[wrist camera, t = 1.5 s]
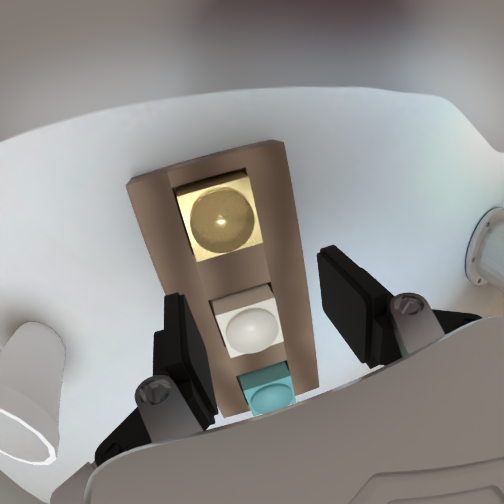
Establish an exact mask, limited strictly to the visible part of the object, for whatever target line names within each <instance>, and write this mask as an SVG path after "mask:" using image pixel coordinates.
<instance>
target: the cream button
mask: <svg viewBox="0 0 504 504" xmlns="http://www.w3.org/2000/svg"><path fill="white" fill-rule="evenodd" d="M212 303H213V308H214V312H215V316H216V319H217V322H218V325H219V328H220V330H221V333H222V336H223V339H224V341H225V344H226V347H227V350H228V352H229V355H230V358H233V357H236V356H240V355H243V354H251V353H257V352H260V351H262V350H264V349H266V348H268V347H269V346H271V345H274V344H278V343H280V342H283V341H284V339H283V335H282V330H281V325H280V320H279V315H278V310H277V306H276V301H275V297H274V295H273V293H272V292H271V290H270V288H269V286H268V284H267V283H265V284H261V285H258V286H255V287H252V288H248V289H245V290H242V291H239V292H235V293H232V294H229V295H225V296H222V297H219V298H215V299H212Z"/></svg>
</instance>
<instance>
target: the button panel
mask: <svg viewBox="0 0 504 504" xmlns="http://www.w3.org/2000/svg"><path fill="white" fill-rule="evenodd" d="M238 170H241V171H242V172H243V173H245V174H246V175H247V176H248V177H249V180H250V184H251V189H252V193H253V198H254V203H255V207H256V212H257V216H258V221H259V226H260V230H261V235H262V239H263V243H260V244H256V245H253V246H250V247H246V248H243V249H239V250H236V251H233V252H229V253H226V254H223V255H219V256H216V257H212V258H209V259H206V260H202V261H199V262H197V260H196V257H195V254H194V251H193V248H192V245H191V242H190V239H189V235H188V232H187V229H186V226H185V223H184V219H183V216H182V213H181V210H180V206H179V203H178V199H177V187H181V186H184V185H188V184H191V183H194V182H198V181H201V180H205V179H209V178H212V177H216V176H219V175H223V174H227V173H231V172H234V171H238ZM126 188H127V191H128V194H129V198H130V201H131V204H132V207H133V209H134V212H135V215H136V218H137V221H138V224H139V227H140V230H141V232H142V235H143V238H144V241H145V243H146V246H147V249H148V251H149V254H150V257H151V259H152V262H153V265H154V267H155V270H156V272H157V275H158V277H159V280H160V282H161V285H162V287H163V290H164V292H165V294H166V295H169V294H173V293H176V292H178V293H179V295H182V294H184V295H185V297H186V300H187V302H188V305H189V307H190V310H191V312H192V315H193V317H194V320H195V322H196V325H197V327H198V330H199V332H200V334H201V337H202V339H203V342H204V344H205V347H206V351H207V356H208V362H209V367H210V372H211V378H212V383H213V388H214V393H215V398H216V403H217V406H218V408H219V409H220V411H221V413H222V415H223V417H224V418H226V417H230V416H233V415H237V414H240V413H244V412H247V411H251V409H250V407H249V404H248V402H247V399H246V397H245V394H244V391H243V388H242V385H241V381H240V378H239V375H242V374H245V373H248V372H252V371H255V370H258V369H261V368H264V367H267V366H270V365H273V364H276V363H279V362H282V361H284V362H285V364H286V366H287V368H288V371H289V373H290V375H291V379H292V384H293V389H294V394H295V396H297V395H299V394H302V393H305V392H308V391H310V390H313V389H316V388H318V387H319V379H318V369H317V360H316V350H315V342H314V333H313V325H312V317H311V309H310V301H309V293H308V286H307V279H306V272H305V265H304V258H303V251H302V245H301V238H300V232H299V226H298V219H297V213H296V207H295V201H294V196H293V190H292V184H291V178H290V173H289V167H288V162H287V157H286V151H285V146H284V142H280V141H276V140H268V141H264V142H259V143H255V144H250V145H246V146H242V147H238V148H234V149H230V150H226V151H222V152H218V153H214V154H210V155H207V156H203V157H199V158H196V159H192V160H189V161H185V162H182V163H178V164H175V165H172V166H168V167H165V168H162V169H159V170H156V171H152V172H149V173H146V174H143V175H140V176H137V177H134V178H131V180H130V181H129V182H128V183H127V185H126ZM265 283H267V284H268V286H269V288H270V290H271V292H272V293H273V295H274V297H275V301H276V306H277V310H278V315H279V320H280V325H281V330H282V335H283V339H284V341H283V342H280V343H278V344H274V345H271V346H269V347H268V348H266V349H264V350H262V351H260V352H257V353H251V354H243V355H240V356H236V357H233V358H230V355H229V352H228V350H227V347H226V344H225V341H224V339H223V336H222V333H221V330H220V328H219V325H218V322H217V319H216V316H215V312H214V308H213V303H212V299H215V298H219V297H222V296H225V295H229V294H232V293H235V292H239V291H242V290H245V289H248V288H252V287H255V286H258V285H261V284H265Z"/></svg>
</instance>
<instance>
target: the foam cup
mask: <svg viewBox="0 0 504 504" xmlns="http://www.w3.org/2000/svg"><path fill="white" fill-rule="evenodd" d="M64 362H65V346H64V344H63V342H62V340H61V338H60V337H59V336H58V335H57V334H56V333H55V332H54V331H53V330H52V329H51V328H49V327H47V326H45V325H43V324H41V323H37V322H30V321H29V322H27V323H24V324H22V325H21V326H20V327H19V328H18V329H17V330H16V331H15V333H14V334H13V335H12V336H11V338H10V339H9V340H8V341H7V343H6V344H5V345H4V346H3V348H2V349H1V350H0V452H1V453H3V454H5V455H7V456H9V457H11V458H13V459H15V460H18V461H22V462H25V463H29V464H33V465H49V464H51V463H52V462H53V461H54V460H56V458H57V452H58V446H59V440H60V436H59V429H58V423H59V408H60V396H61V386H62V377H63V369H64Z"/></svg>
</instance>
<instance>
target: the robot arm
mask: <svg viewBox="0 0 504 504" xmlns="http://www.w3.org/2000/svg"><path fill="white" fill-rule="evenodd" d="M317 262H318V270H319V279H320V288H321V297H322V306H323V310H324V312H325V314H326V315H327V316H328V318H329V319H330V321H331V322H332V323H333V325H334V326H335V327H336V329H337V330H338V331H339V333H340V334H341V336H342V337H343V338H344V340H345V341H346V342H347V344H348V345H349V347H350V348H351V349H352V351H353V352H354V353H355V355H356V356H357V358H358V359H359V360H360V362H361V363H366V364H367V365H368V366H369V368H370V369H372V368H374V367H376V366H378V365H384V367H382V368H380V369H378V370H376V371H374V372H372V373H369V374H367V375H365V376H363V377H360V378H358V379H356V380H354V381H351V382H349V383H347V384H344V385H342V386H339V387H337V388H335V389H332V390H330V391H327V392H325V393H322V394H319V395H317V396H314V397H312V398H309V399H306V400H304V401H301V402H298V403H295V404H292V405H290V406H287V407H284V408H281V409H278V410H275V411H272V412H269V413H266V414H262V415H259V416H256V417H253V418H249V419H246V420H242V421H239V422H235V423H232V424H228V425H224V426H221V427H217V428H213V429H209V430H206V429H207V428H208V427H209V426H210V425H212V424H215V419H214V415H217V414H218V408H217V403H216V398H215V393H214V388H213V383H212V378H211V372H210V367H209V362H208V356H207V351H206V347H205V344H204V342H203V339H202V337H201V334H200V332H199V330H198V327H197V325H196V322H195V320H194V317H193V315H192V312H191V310H190V307H189V305H188V302H187V300H186V297H185V295H184V294H182V295H179V293H178V292H176V293H173V294H169V295H166V296H165V297H164V330H161V331H157V332H155V333H154V348H153V376H152V377H150V378H147V379H146V380H144V381H143V382H142V383H141V384H140V385H139V386H138V388H137V389H136V392H135V401H136V404H137V406H138V407H137V408H136V409H135V410H134V411H133V412H132V413H131V414H130V415H129V416H128V417H127V418H126V419H125V420H124V421H123V422H122V423H121V424H120V425H119V426H118V427H117V428H116V429H115V430H114V431H113V432H112V433H111V434H110V435H109V436H108V437H107V438H106V439H105V440H104V441H103V442H102V443H101V444H100V445H99V447H98V448H97V450H96V452H95V461H94V462H93V463H92V464H90V463H89V462H87V463H86V464H85V465H84V466H83V467H82V468H80V469H79V470H78V471H77V472H76V473H74V474H73V475H72V476H71V477H70V478H69V479H67V480H66V481H65V482H64V483H63V484H61V485H60V486H59V487H58V488H57V489H56V490H55V491H54V492H53V493H52V495H51V498H50V504H504V316H491V317H486V318H482V317H480V316H478V315H475V314H470V313H460V312H451V311H442V310H433V309H431V307H430V306H429V304H428V302H427V301H426V299H425V298H424V297H422V296H420V295H418V294H415V293H402V294H398V295H396V296H393V295H392V294H391V293H390V292H389V291H388V290H387V289H386V288H385V287H384V286H382V285H381V284H380V283H379V282H378V281H377V280H376V279H375V278H374V277H372V276H371V275H370V274H369V273H368V272H367V271H366V270H364V269H363V268H360V267H359V266H358V265H357V264H356V263H354V262H353V261H352V260H351V259H350V258H349V257H348V256H346V255H345V254H344V253H343V252H342V251H341V250H339V249H338V248H337V247H336V246H335V245H331V246H328V247H325V248H321V249H320V253H317ZM466 274H467V277H468V279H469V280H470V281H471V282H472V283H473V284H475V285H477V286H481V285H484V284H486V283H488V282H489V283H491V284H492V285H494V286H495V287H497V288H498V289H499V290H501V291H502V292H504V209H503V208H500V207H499V208H494V209H492V210H491V211H489V212H488V213H487V214H486V215H485V216H484V217H483V219H482V220H481V221H480V223H479V224H478V226H477V228H476V230H475V232H474V234H473V236H472V239H471V242H470V244H469V248H468V252H467V257H466Z"/></svg>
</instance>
